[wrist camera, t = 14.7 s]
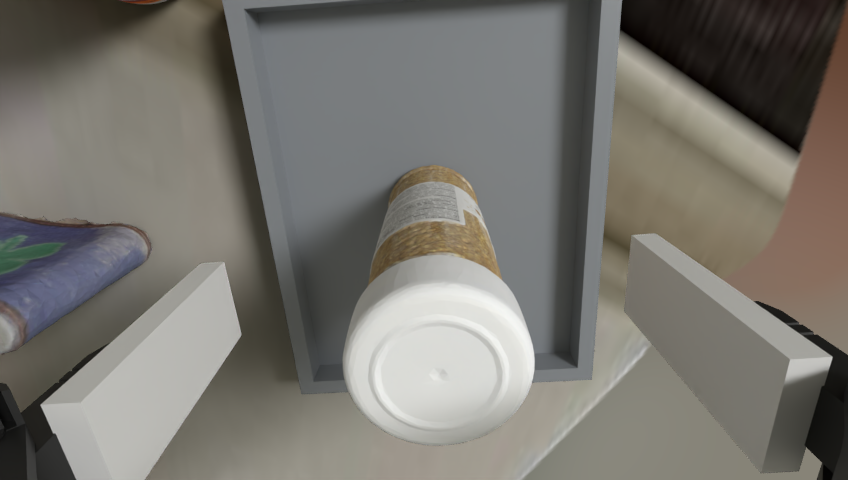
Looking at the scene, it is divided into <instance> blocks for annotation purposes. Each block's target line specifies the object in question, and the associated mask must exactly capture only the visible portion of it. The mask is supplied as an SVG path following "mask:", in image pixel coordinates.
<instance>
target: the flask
mask: <svg viewBox="0 0 848 480" xmlns="http://www.w3.org/2000/svg"><path fill="white" fill-rule="evenodd" d="M151 250H152V247H151V242H150V240H149V236H148V233H146V232H144V231H142V230H140V229H138V228H136V227H133V226H131V225H128V224H123V223H119V222H111V224H108V225H107V224H106V225H105V224H98V223H96V224H95V223H93V222H91V223H90V222H88V221H87V220H78V219H77V218H74V219H69V218H66V219H63V221H62V220H59V221H56V222H50V221H47V220H46V219H45V217H44V216H43V217H42V218H38V219H28V218H26V217H24V216H22V214H20V215H14V214H9V213H1V212H0V354H5V353H8V352H12V351H15V350H17V349H18V348H19V347H21V346H22V345H24V344H25V343H27V342H28V341H29V340H30V339H32V338H33V337H34V336H36V335H37V334H39V333H40V332H41V331H43V330H44V329H46V328H47V327H49V326H51V325H52V324H54V323H55V322H56V321H57V320H59V319H60V318H61V317H63V316H65V315H66V314H68V313H69V312H71V311H72V310H74V309H75V308H77V307H78V306H80V305H81V304H83V303H84V302H85V301H87V300H88V299H90V298H91V297H92V296H94V295H95V294H97V293H98V292H100V291H101V290H103V289H104V288H106V287H107V286H109V285H110V284H112V283H114V282H115V281H117V280H118V279H120V278H122V277H123V276H125V275H126V274H127V273H129V272H130V271H131V270H133V269H135V268H137V267H138V266H140V265H141V264H142V263H144V262H145V261H146V260H147V259H148V257H149V256H148V254H149V255H150V254H151ZM149 251H150V253H149Z"/></svg>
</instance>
